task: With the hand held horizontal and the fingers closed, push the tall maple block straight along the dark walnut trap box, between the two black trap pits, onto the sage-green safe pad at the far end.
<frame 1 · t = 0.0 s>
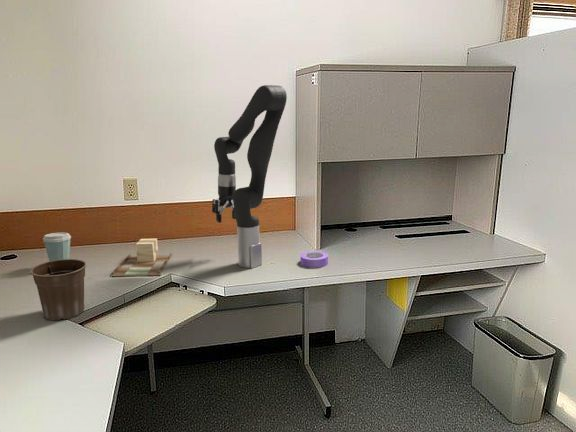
hand: (226, 220, 201), 17 cm above the table, tool pointing down, fingers open, 8 cm apart
disposable coffee cup: (61, 267, 196), on the table
block: (148, 258, 202), point 1 cm above the table, touching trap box
plant pot: (65, 313, 153), on the table
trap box: (143, 267, 195), on the table
masking tape: (314, 264, 197), on the table
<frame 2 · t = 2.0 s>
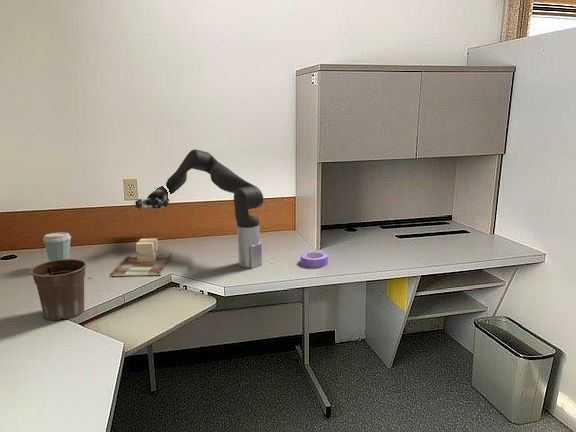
hand: (148, 206, 205), 23 cm above the table, tool horizontal, fingers open, 8 cm apart
nothing on the table moved.
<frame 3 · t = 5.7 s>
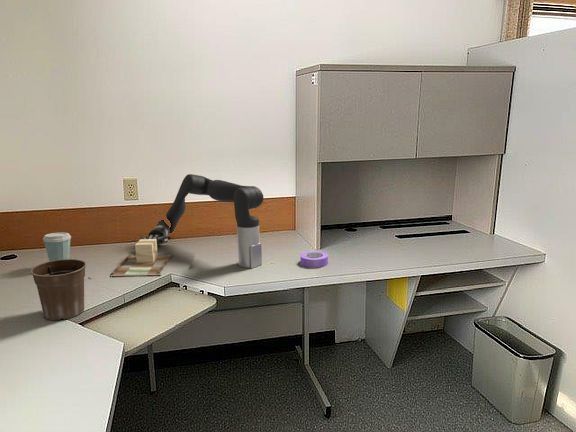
hand: (149, 245, 204), 6 cm above the table, tool horizontal, fingers closed
block: (147, 259, 201), point 1 cm above the table
everything else where it was.
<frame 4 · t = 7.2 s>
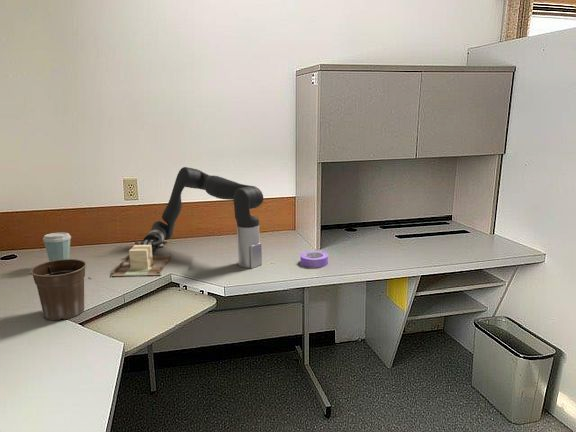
hand: (143, 250, 196), 7 cm above the table, tool horizontal, fingers closed
block: (142, 266, 193), point 1 cm above the table, touching gripper
everything else where it was.
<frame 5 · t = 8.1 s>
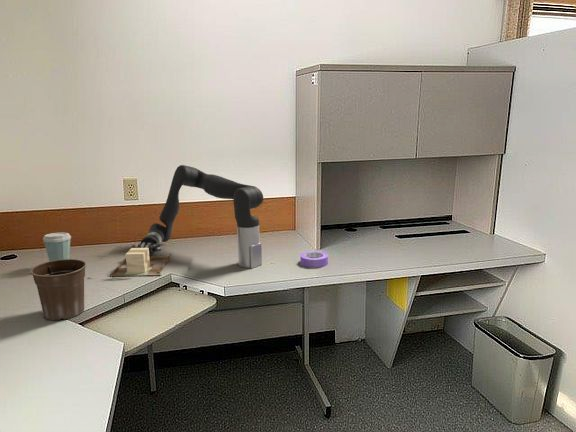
hand: (140, 254, 191), 7 cm above the table, tool horizontal, fingers closed
block: (139, 269, 189), point 1 cm above the table
everything else where it was.
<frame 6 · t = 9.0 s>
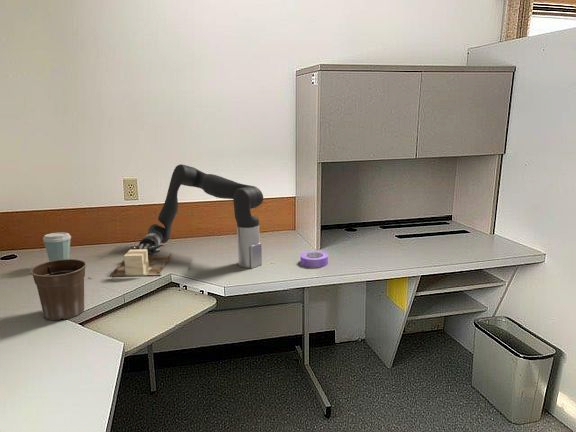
hand: (139, 255, 189), 7 cm above the table, tool horizontal, fingers closed
block: (137, 271, 187), point 1 cm above the table, touching gripper, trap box
everything else where it was.
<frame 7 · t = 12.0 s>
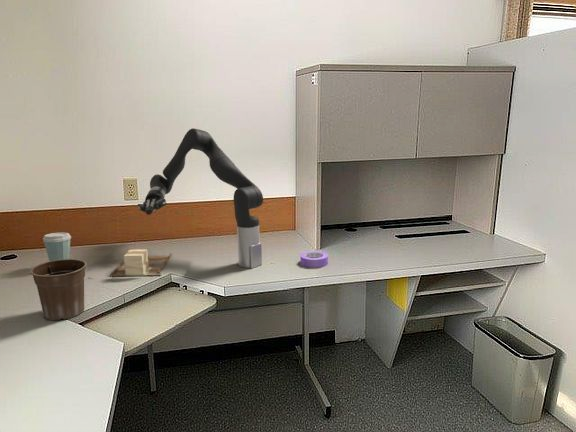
hand: (148, 212, 194), 23 cm above the table, tool horizontal, fingers closed
block: (137, 271, 187), point 1 cm above the table, touching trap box
everything else where it was.
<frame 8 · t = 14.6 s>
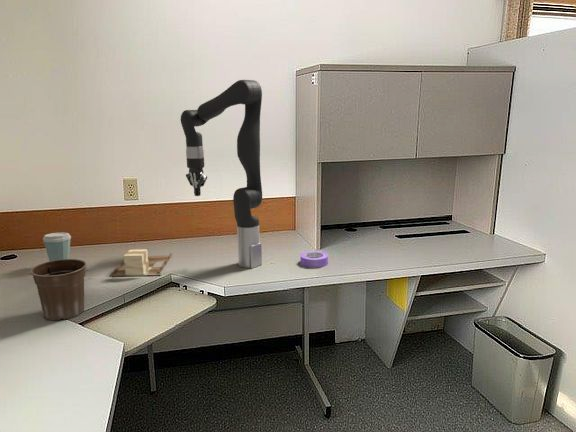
hand: (197, 195, 206), 27 cm above the table, tool pointing down, fingers closed
nothing on the table moved.
at the end: block 0.7 cm from the target spot on the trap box, point 1.2 cm above the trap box's base; block tilted 0° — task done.
